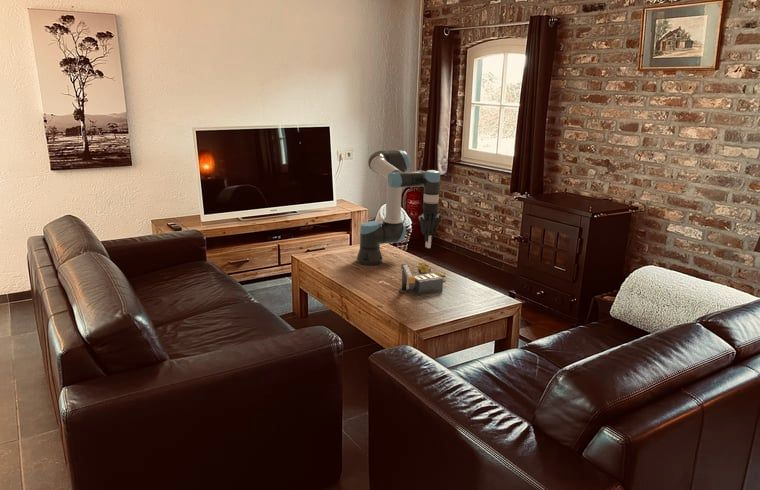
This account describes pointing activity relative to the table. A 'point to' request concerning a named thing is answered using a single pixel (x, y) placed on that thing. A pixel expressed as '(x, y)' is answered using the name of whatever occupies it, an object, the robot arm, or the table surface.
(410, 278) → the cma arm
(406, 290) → the post
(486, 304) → the table surface
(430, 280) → the block
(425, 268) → the figurine
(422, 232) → the robot arm
